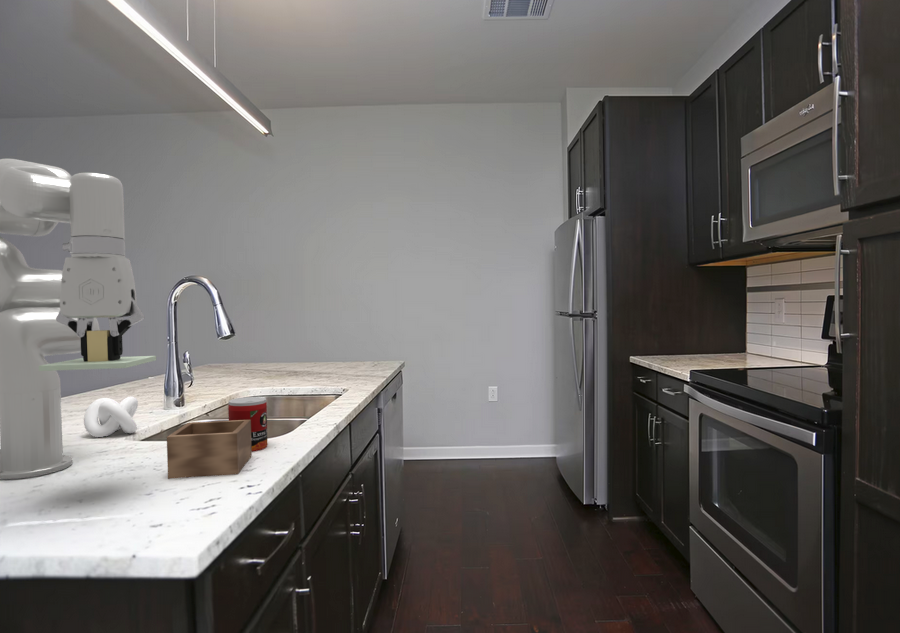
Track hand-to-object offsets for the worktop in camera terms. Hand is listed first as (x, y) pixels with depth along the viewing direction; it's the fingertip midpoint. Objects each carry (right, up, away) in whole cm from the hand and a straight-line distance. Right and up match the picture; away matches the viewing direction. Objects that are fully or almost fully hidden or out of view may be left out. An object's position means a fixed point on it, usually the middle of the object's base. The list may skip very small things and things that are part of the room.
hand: (102, 359), depth 90 cm
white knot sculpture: (-26, -23, +45) cm, 57 cm away
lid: (0, -1, 0) cm, 1 cm away
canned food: (+14, -22, +27) cm, 38 cm away
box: (+12, -22, +14) cm, 29 cm away
